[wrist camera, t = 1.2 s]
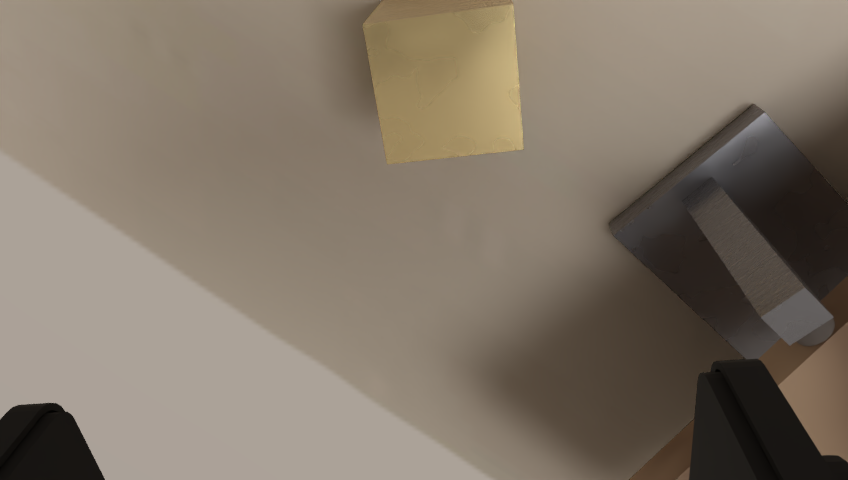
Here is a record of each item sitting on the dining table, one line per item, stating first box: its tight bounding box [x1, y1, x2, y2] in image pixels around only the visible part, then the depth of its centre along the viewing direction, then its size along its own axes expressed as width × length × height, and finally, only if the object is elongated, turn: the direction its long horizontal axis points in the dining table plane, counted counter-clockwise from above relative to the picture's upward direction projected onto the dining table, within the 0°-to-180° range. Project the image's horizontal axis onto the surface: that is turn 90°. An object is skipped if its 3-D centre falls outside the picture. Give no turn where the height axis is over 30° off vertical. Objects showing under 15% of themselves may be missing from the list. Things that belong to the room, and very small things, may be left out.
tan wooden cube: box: [362, 0, 524, 164], centre depth 25 cm, size 5×5×6 cm
